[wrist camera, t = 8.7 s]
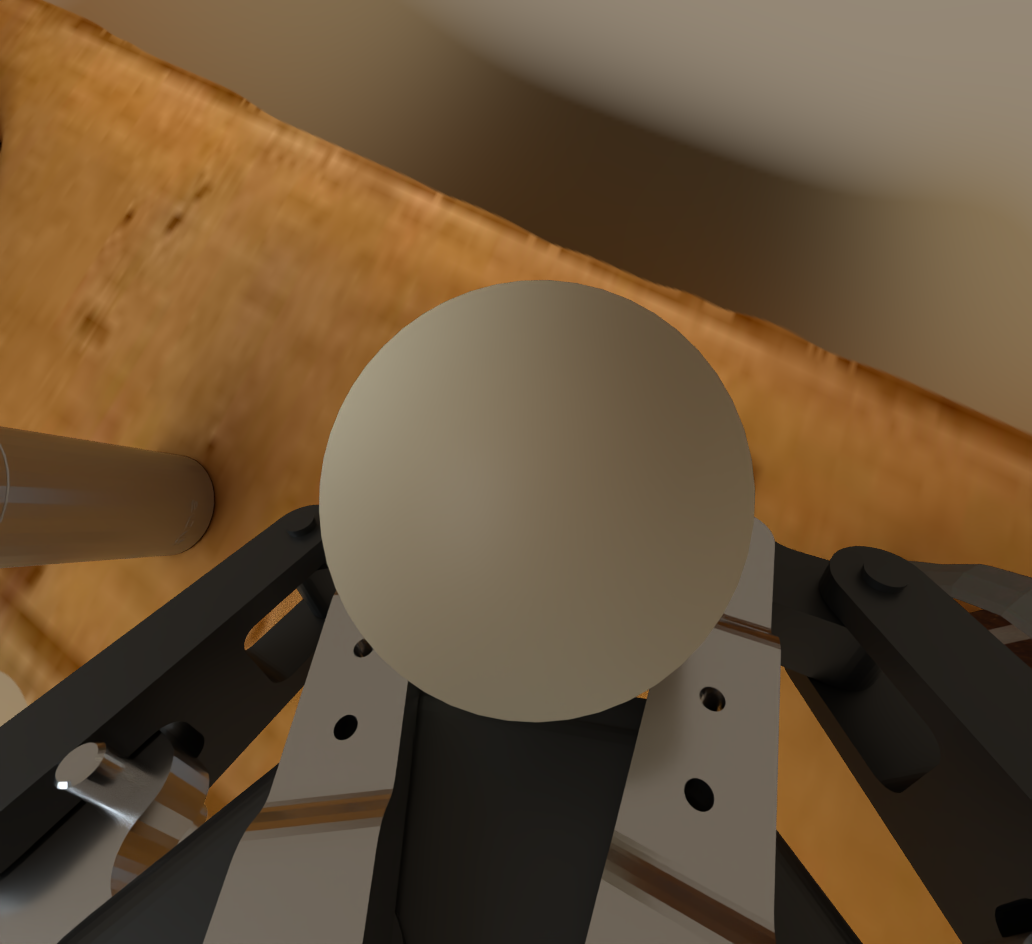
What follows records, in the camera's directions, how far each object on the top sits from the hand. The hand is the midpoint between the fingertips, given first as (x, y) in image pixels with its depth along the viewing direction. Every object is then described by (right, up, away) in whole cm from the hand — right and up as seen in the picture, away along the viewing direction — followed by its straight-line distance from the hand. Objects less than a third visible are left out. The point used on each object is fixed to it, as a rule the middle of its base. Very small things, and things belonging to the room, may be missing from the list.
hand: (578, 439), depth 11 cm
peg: (+1, -3, +6) cm, 7 cm away
